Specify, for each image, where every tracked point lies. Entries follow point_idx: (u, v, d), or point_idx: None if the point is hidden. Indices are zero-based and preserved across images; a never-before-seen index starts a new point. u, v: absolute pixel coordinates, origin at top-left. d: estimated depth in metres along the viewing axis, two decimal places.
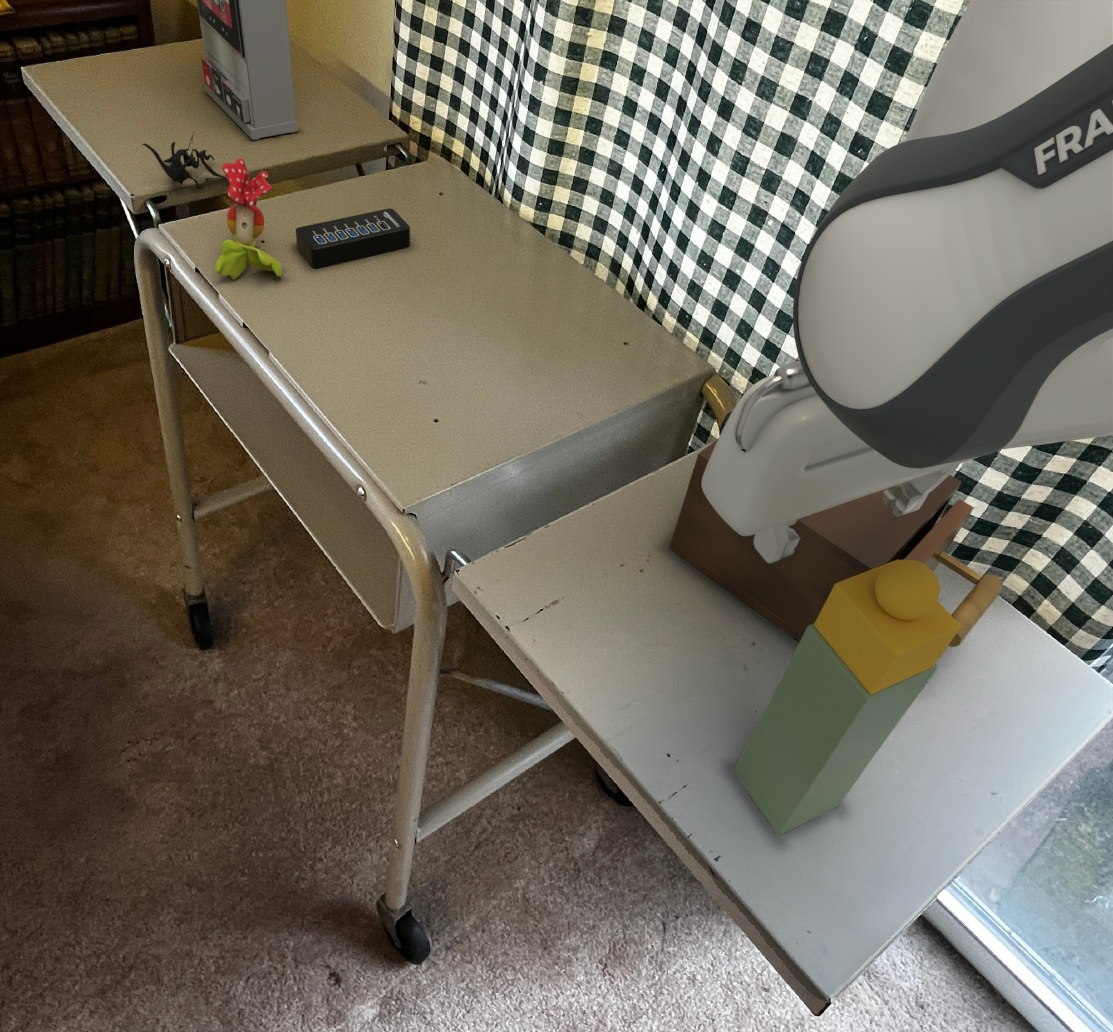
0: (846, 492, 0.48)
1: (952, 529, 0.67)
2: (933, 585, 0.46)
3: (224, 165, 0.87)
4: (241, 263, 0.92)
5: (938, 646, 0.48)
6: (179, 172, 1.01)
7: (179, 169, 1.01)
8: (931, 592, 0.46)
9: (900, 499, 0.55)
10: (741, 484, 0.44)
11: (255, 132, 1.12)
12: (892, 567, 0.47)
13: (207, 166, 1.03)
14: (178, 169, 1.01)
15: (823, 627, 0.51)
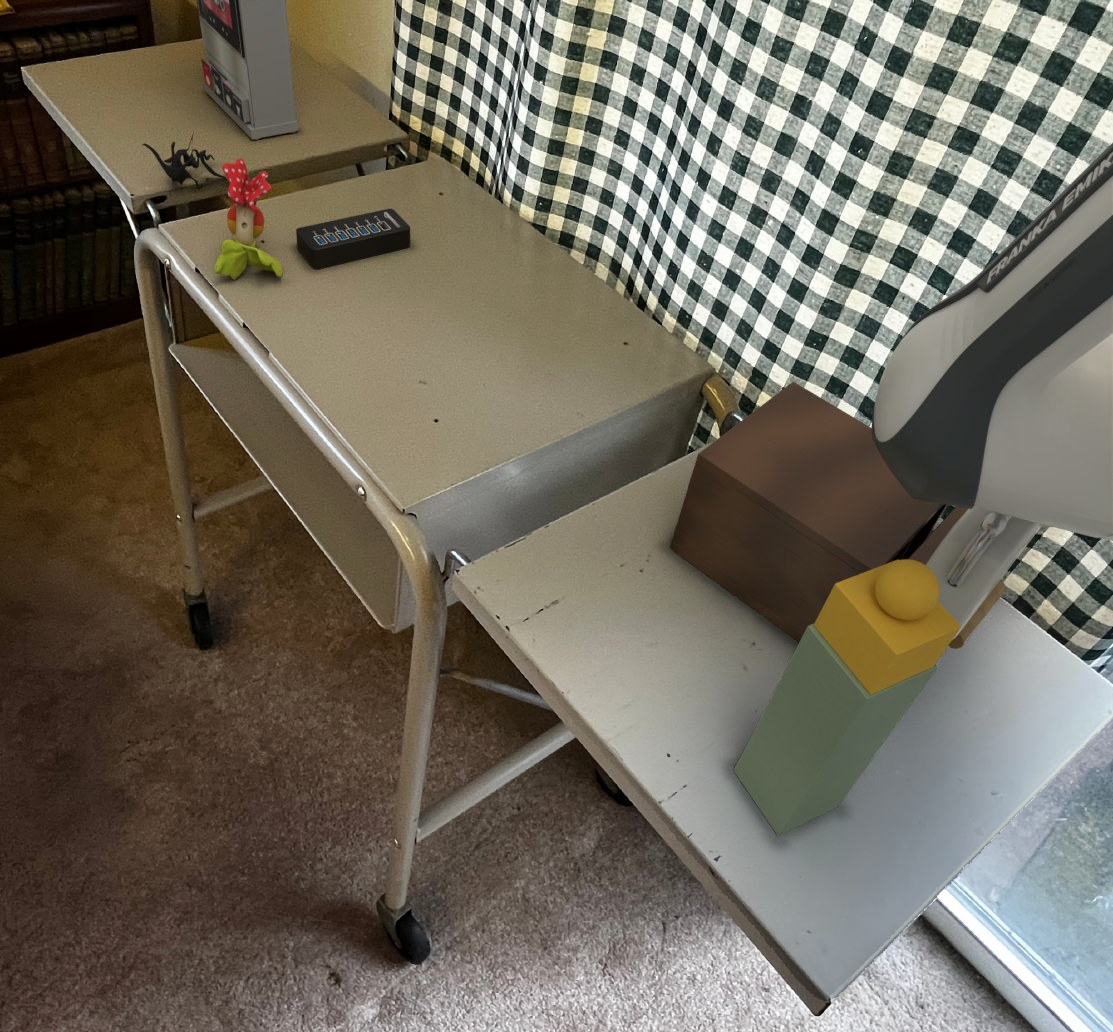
0: None
1: None
2: (933, 585, 0.46)
3: (224, 165, 0.87)
4: (241, 263, 0.92)
5: (938, 646, 0.48)
6: (179, 173, 1.01)
7: (179, 169, 1.01)
8: (931, 592, 0.46)
9: None
10: (953, 610, 0.55)
11: (255, 132, 1.12)
12: (892, 567, 0.47)
13: (207, 166, 1.03)
14: (178, 169, 1.01)
15: (823, 627, 0.51)
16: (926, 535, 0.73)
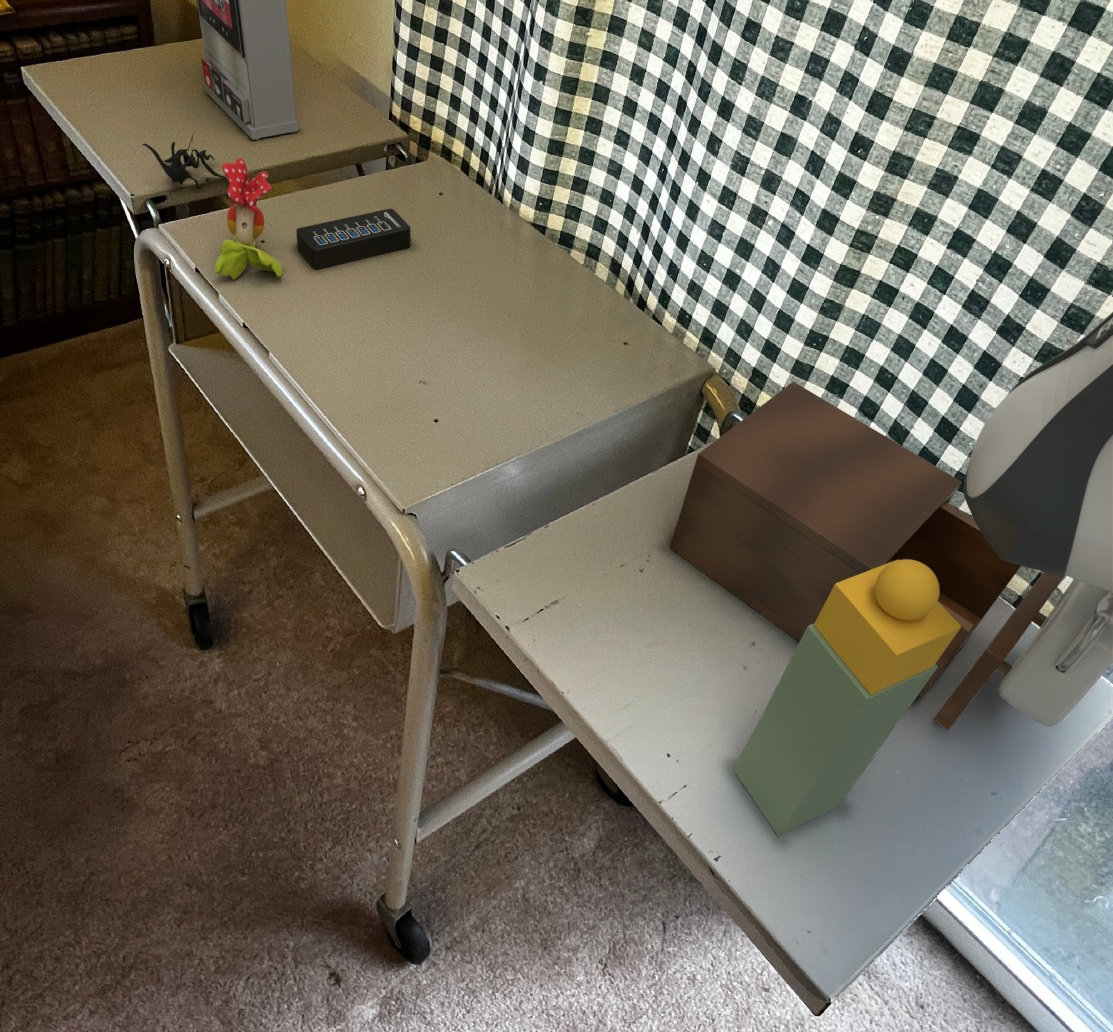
0: None
1: (1051, 591, 0.64)
2: (933, 585, 0.46)
3: (224, 165, 0.87)
4: (241, 263, 0.92)
5: (938, 646, 0.48)
6: (179, 172, 1.01)
7: (179, 169, 1.01)
8: (931, 592, 0.46)
9: None
10: (1060, 696, 0.53)
11: (255, 132, 1.12)
12: (892, 567, 0.47)
13: (207, 166, 1.03)
14: (178, 169, 1.01)
15: (823, 627, 0.51)
16: None
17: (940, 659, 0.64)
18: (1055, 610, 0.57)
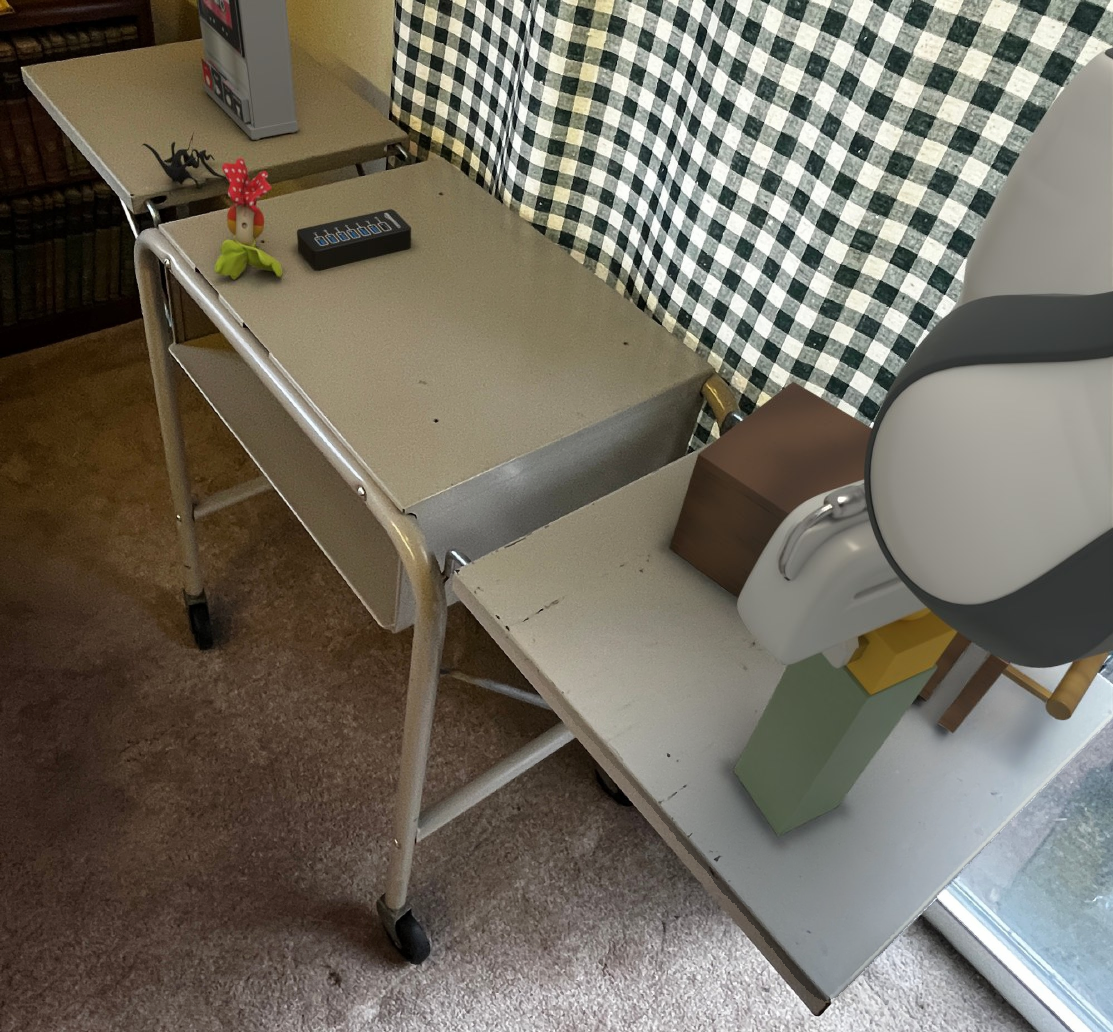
0: (896, 613, 0.43)
1: None
2: None
3: (224, 165, 0.87)
4: (241, 263, 0.92)
5: (938, 646, 0.48)
6: (179, 173, 1.01)
7: (179, 169, 1.01)
8: None
9: None
10: (784, 614, 0.40)
11: (255, 132, 1.12)
12: None
13: (207, 166, 1.03)
14: (178, 169, 1.01)
15: None
16: None
17: (945, 662, 0.64)
18: None
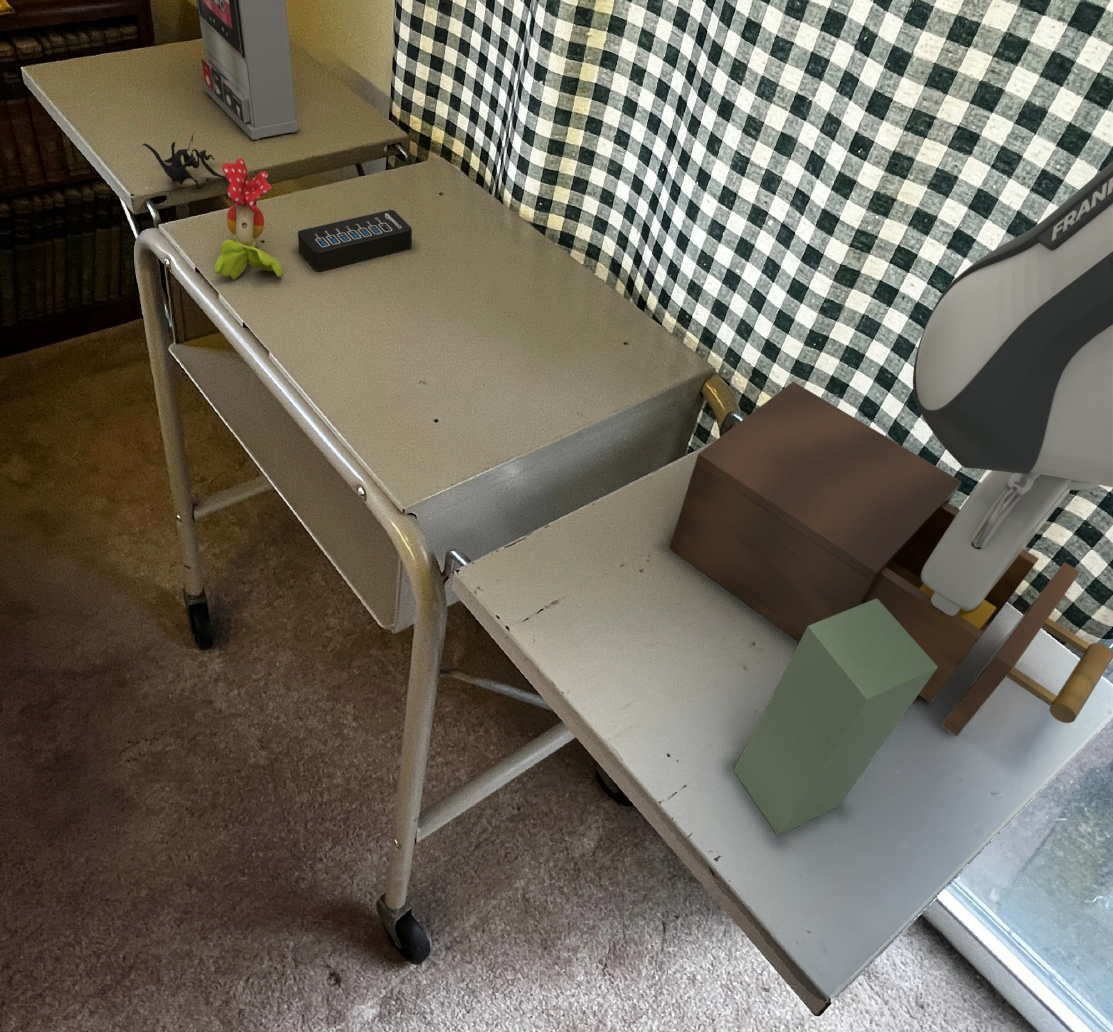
0: (1022, 549, 0.58)
1: (1060, 596, 0.64)
2: None
3: (224, 165, 0.87)
4: (241, 263, 0.92)
5: (984, 624, 0.68)
6: (179, 173, 1.01)
7: (179, 169, 1.01)
8: None
9: None
10: (977, 574, 0.53)
11: (255, 132, 1.12)
12: None
13: (207, 166, 1.03)
14: (178, 169, 1.01)
15: None
16: None
17: (949, 665, 0.64)
18: None
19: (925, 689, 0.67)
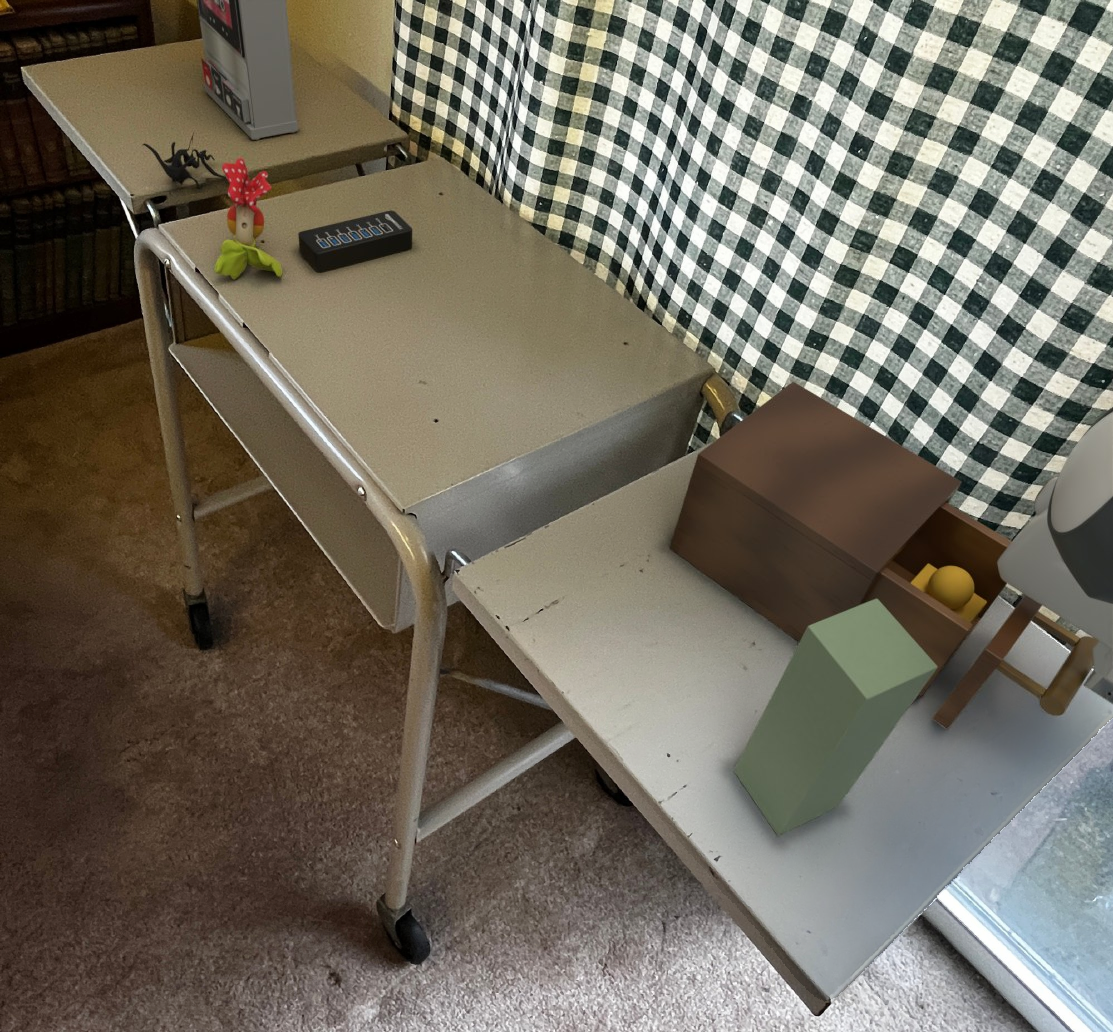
0: (1094, 623, 0.59)
1: None
2: (971, 581, 0.66)
3: (224, 165, 0.87)
4: (241, 263, 0.92)
5: None
6: (179, 173, 1.01)
7: (179, 169, 1.01)
8: (972, 586, 0.66)
9: None
10: (1018, 534, 0.60)
11: (255, 132, 1.12)
12: (940, 575, 0.66)
13: (207, 166, 1.03)
14: (178, 169, 1.01)
15: None
16: None
17: (939, 658, 0.64)
18: None
19: None
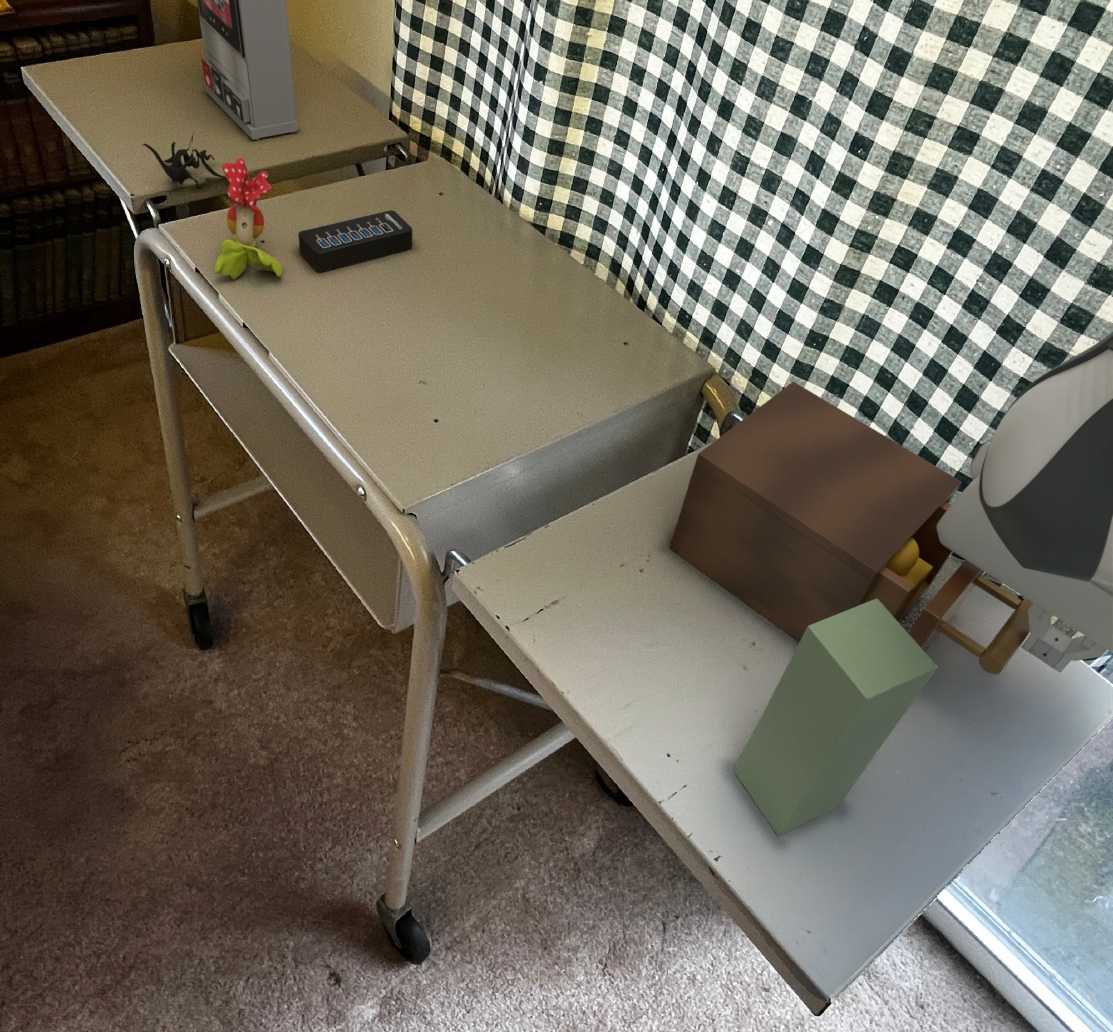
0: (1027, 584, 0.61)
1: None
2: (915, 545, 0.68)
3: (224, 165, 0.87)
4: (241, 263, 0.92)
5: (921, 583, 0.70)
6: (179, 173, 1.01)
7: (179, 169, 1.01)
8: (916, 551, 0.67)
9: None
10: None
11: (255, 132, 1.12)
12: None
13: (207, 166, 1.03)
14: (178, 169, 1.01)
15: None
16: None
17: None
18: None
19: None
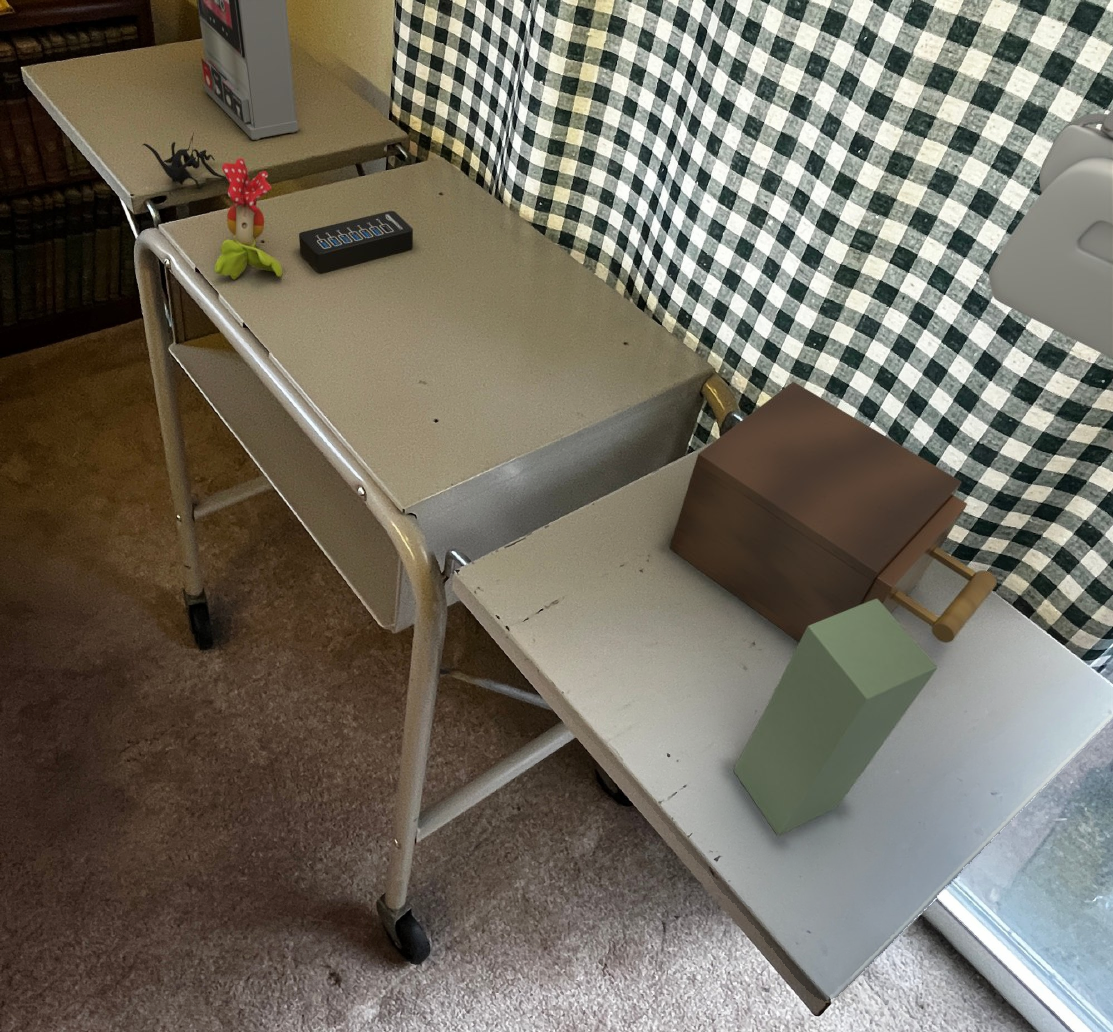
0: None
1: (946, 525, 0.68)
2: None
3: (224, 165, 0.87)
4: (241, 263, 0.92)
5: None
6: (180, 173, 1.01)
7: (179, 169, 1.01)
8: None
9: None
10: None
11: (255, 132, 1.12)
12: None
13: (207, 166, 1.03)
14: (178, 169, 1.01)
15: None
16: None
17: None
18: None
19: None
